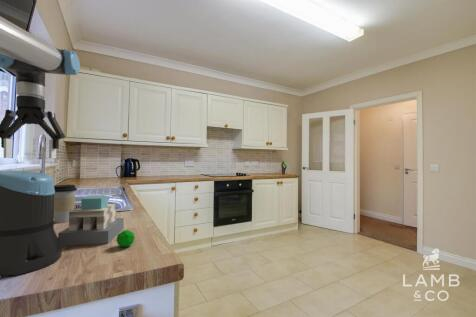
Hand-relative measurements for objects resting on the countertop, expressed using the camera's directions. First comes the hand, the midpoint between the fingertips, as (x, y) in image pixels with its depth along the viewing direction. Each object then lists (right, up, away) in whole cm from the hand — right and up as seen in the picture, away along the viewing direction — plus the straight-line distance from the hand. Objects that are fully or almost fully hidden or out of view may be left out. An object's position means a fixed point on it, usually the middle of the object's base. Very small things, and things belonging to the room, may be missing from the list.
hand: (30, 158), depth 81 cm
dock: (+23, -27, -2) cm, 36 cm away
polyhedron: (+38, -27, -10) cm, 48 cm away
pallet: (+23, -23, -2) cm, 33 cm away
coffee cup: (-1, -27, +17) cm, 32 cm away
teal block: (+24, -17, -2) cm, 29 cm away
